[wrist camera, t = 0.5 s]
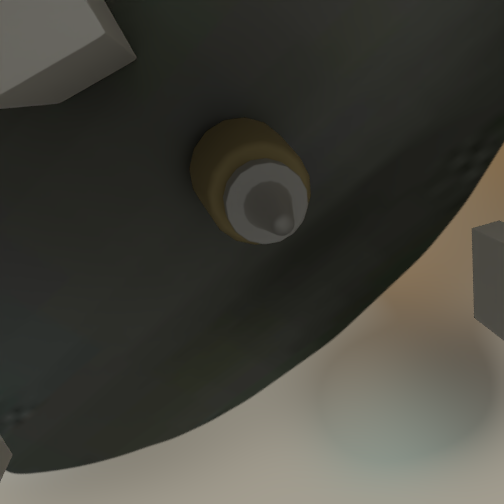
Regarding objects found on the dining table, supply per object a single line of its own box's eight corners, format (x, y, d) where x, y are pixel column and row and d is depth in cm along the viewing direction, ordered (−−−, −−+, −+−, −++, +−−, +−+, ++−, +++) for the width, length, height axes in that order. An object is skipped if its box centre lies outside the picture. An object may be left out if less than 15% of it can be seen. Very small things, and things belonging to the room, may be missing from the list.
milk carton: (137, 59, 32) (87, 18, 15) (58, 104, 33) (-85, 118, 15) (81, -40, 30) (-63, -233, 12) (-5, 10, 30) (-270, -107, 12)
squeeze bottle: (232, 227, 38) (272, 330, 22) (168, 160, 35) (157, 221, 19) (299, 167, 37) (395, 226, 21) (239, 93, 34) (295, 94, 18)
